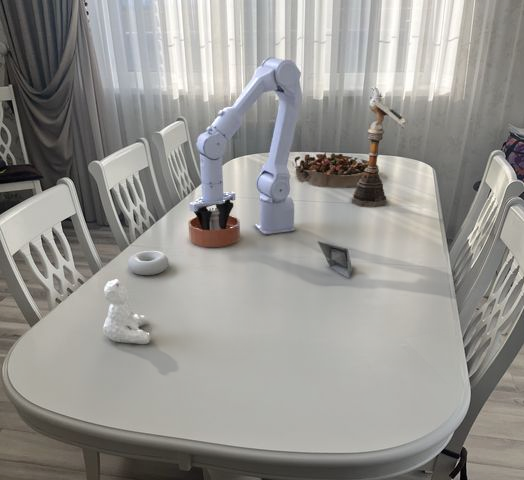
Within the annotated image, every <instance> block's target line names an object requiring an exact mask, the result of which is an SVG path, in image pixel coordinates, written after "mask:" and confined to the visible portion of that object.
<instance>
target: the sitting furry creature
mask: <svg viewBox="0 0 524 480" xmlns="http://www.w3.org/2000/svg"><path fill="white" fill-rule="evenodd" d="M103 288H104V289H103V294H104V296H105V299H106V300H107V301H108V302H109V303H110V304H109V307H108V313H107V317H106V318H105V319H104V320H105V321H104V324H103V326H102V330H103V334H104V336H106V338H108V339H109V340H110V341H113V342H114V343H123V344H124V343H125V344H137V345H139V344H140V345H147V344H149V343H150V338H151V337H150V336H151V335H150V333H149V332H146V331H144V330H143V329H140V327H143V326H145V325H147V318H146V316H145V315H140V314H134V313H133V311H132V307H131V306H130V304H129V300H130V295H129V293H128V291H127V288H126V287H125V286H122V284H121V282H120V280H118V278H116V279H112V280H108V282H106V284H105V285H104V286H103Z"/></svg>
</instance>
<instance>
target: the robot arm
mask: <svg viewBox="0 0 524 480" xmlns="http://www.w3.org/2000/svg"><path fill="white" fill-rule="evenodd" d="M301 75H302V72H301V70H300V69H299V67H298V66H297V65H296V63H295V62H294V61H293V60H291V59H283V58H276V57H273V56H269V57H267V58H265V59H264V60H263V61H262V63H261V64H260V65H259V66H258V67H257V68H256V70H255V72H254V74H253V76H252V78H251V79H250V81H249V82H248V83H247V85H245V87H244V89H243V90H242V92H241V93H240V94H239V96H238V98H237V99H236V100H235V102H234V103H233V104H232V106H231V107H224V108H223V110H222V109H220V110H219V111H218V112H217V115H218V116H217V117H216V118H215V120H214V121H213V122H212V123H211V125H210V126H207V127H206V128H205V130H206V131H205V132H202V133H200V134H199V135H198V137H197V139H196V143H195V144H194V146H195V149H196V151H197V152H198V154H199V165H200V166H199V167H200V180H201V182H200V185H201V197H200V198H198V199H196V200H194V201H191V202H189V211H192V212H193V213H194V215H195V217H197V218H198V220H199V222H200V225H201V227H202V230H210V218H211V214H212V212H211V211H209V207H213V206H215V208H217V209H218V211H219V212H220V213H219V215H218V217H219V226H220V228H222V229H226V226H227V221H228V217H229V215H231V212H232V210H233V208H234V203H233V202H232V201H235V200H236V193H235V192H233V191H227V192H224V175H223V172H224V171H223V155H224V154H225V153H226V149H227V144H228V143H229V141H230V140H231V139H232V138H233V136H234V135H235V134H236V133H237V131H238V130H239V129H240V127H242V125H243V116H244V115H245V114H246V113H247V111H248V110H249V109H250V108H251V107H252V106H253V105H254V104H255V103H256V102H257V101H258V100H259V98H260V97H261V96H262V95H263V94H264V93H269V92H272V91H273V92H274V93H275V95H276V96H277V97H278V99H279V104H278V111H277V114H276V120H275V123H274V129H273V134H272V138H271V143H270V148H269V153H268V158H267V161H266V162H265V163H263V165H262V167H261V170H260V172H259V174H258V175H257V177H256V182H255V187H256V189H257V191H258V192H259V223H256V224H255V227H256V228H257V229H258V230H259V231H260V232H261V233H262V234H263V235H272V234H280V233H288V232H294V231H295V230H296V229H295V204H294V200H293V199H292V197H290V196H289V195H290V191H291V185H290V179H291V173H290V171H289V168H288V162H289V157H290V153H291V149H292V145H293V141H294V135H295V131H296V127H297V122H298V118H299V113H300V109H301V104H302V100H303V92H302V87H301V81H300V80H301Z"/></svg>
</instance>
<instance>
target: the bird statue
mask: <svg viewBox="0 0 524 480" xmlns="http://www.w3.org/2000/svg"><path fill="white" fill-rule="evenodd" d="M371 91H372V93H373V95H372V96H370V97H369V98H370V101H369V104H368V106H369V108H370V110H371V111H372V112H374V114H375V119H376V121H373V122H372V123H371V125H370V128H369V129H368V130H367V132H368V137H367V138H368V140H369V143H370V146H369V153H368V156H369V158H368V161H369V165H368V167H367V168H366V169H365V170H364V171H365V172H364V174H363V176H362V178H361V179H360V180H359V182H358V184H357V187H355V190H354V192H353V194H352V198H351V204H355V205H357V206H359V207H364V208H366V207H367V208H377V207H381V206H386V204H387V195H386V194H385V191H384V190H385V189H384V184H383V180H381V177H380V174H379V173H380V169H378V168H377V167H376V164H377V163H378V162H377V161H378V156H379V146H380V145H379V144H380V142H381V140H383V137H384V136H383V135H384V134H385V130H384V128H383V127H384V125H383V121H384V119H385V116H389V117H390V118H391V119H392V120H394V121H395V122H396V123H397V124H398V125H399V127H401V129H405V124H406V122H407V121H406V119H405V118H404V116H403V114H401V113H399V112H398V111H396V110H395V109H394V108H393V107H390V108H389V107H388V106H387V105H386V104H384V103H383V102H382V98H383V95H382V91H379V89H378V88H377V87H375V86H372V87H371ZM377 165H378V164H377Z"/></svg>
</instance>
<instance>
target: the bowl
mask: <svg viewBox="0 0 524 480" xmlns="http://www.w3.org/2000/svg"><path fill="white" fill-rule="evenodd" d="M187 227H188V236H189V237H188V239H189V241H190V242H191V243H192V244H194V245H197V246H200V247H206V248H222V247H227V246H230V245H233V244H235V243H237V242H238V241H240V239H241V220H240V219H239V218H238V217H237V216H235V215H232V214H229V217H228V221H227V226H226V229H222V228H221V230H202V227H201V225H200V222H199V220H198V218H197V216H194V217H192V218H190V219H189V220H188V226H187Z"/></svg>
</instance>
